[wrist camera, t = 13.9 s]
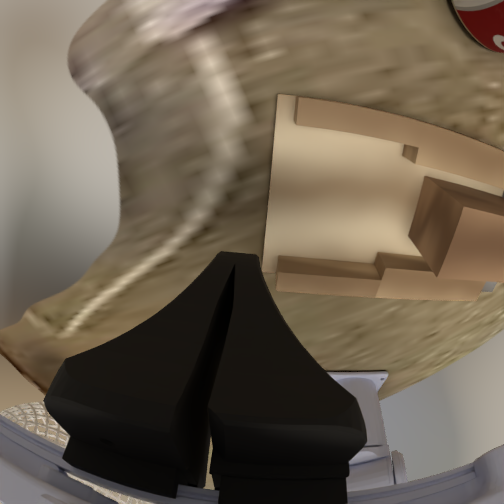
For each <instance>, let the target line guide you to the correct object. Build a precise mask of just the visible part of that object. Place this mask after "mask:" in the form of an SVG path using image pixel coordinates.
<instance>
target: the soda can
mask: <svg viewBox="0 0 504 504" xmlns="http://www.w3.org/2000/svg"><path fill="white" fill-rule="evenodd" d="M451 1H452V4H453V7H454V9H455V11H456V13H457V15H458V17H459V19H460V21H461V22H462V24H463V25H464V27H465V28H466V29H467V31H468V32H469V33H470V34H471V35H472V36H473V37H474V38H475V39H476V40H477V41H478V42H479V43H480V44H481V45H483V46H484V47H486V48H488V49H490V50H492V51H495V52H500V53H504V0H451Z"/></svg>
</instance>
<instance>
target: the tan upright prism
mask: <svg viewBox="0 0 504 504" xmlns="http://www.w3.org/2000/svg"><path fill="white" fill-rule="evenodd" d="M408 237H409V238H410V240H411V241H412V242H413V244H414V245H415V247H416V248H417V249H418V251H419V252H420V254H421V255H422V257H423V258H424V259H425V261H426V262H427V264H428V265H429V267H430V268H431V270H432V271H433V273H434V274H435V276H436V277H437V278H444V279H458V280H473V281H488V282H503V283H504V198H503V197H501V196H498V195H495V194H491V193H488V192H485V191H481V190H478V189H474V188H471V187H467V186H464V185H460V184H456V183H452V182H449V181H445V180H441V179H436V178H432V177H428V176H424V181H423V185H422V188H421V192H420V196H419V200H418V203H417V207H416V211H415V214H414V217H413V221H412V224H411V227H410V231H409V234H408Z"/></svg>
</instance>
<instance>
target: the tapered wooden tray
mask: <svg viewBox="0 0 504 504" xmlns="http://www.w3.org/2000/svg"><path fill="white" fill-rule="evenodd" d="M424 176H428V177H432V178H436V179H441V180H445V181H449V182H452V183H456V184H460V185H464V186H467V187H471V188H474V189H478V190H481V191H485V192H488V193H491V194H495V195H498V196H501V197H503V198H504V151H503V150H500V149H498V148H496V147H493V146H491V145H489V144H486V143H484V142H481V141H479V140H476V139H474V138H471V137H468V136H466V135H463V134H460V133H457V132H454V131H452V130H449V129H446V128H443V127H440V126H436V125H433V124H430V123H427V122H423V121H420V120H416V119H413V118H409V117H406V116H402V115H398V114H394V113H390V112H386V111H382V110H377V109H373V108H368V107H363V106H358V105H353V104H348V103H342V102H337V101H331V100H324V99H317V98H310V97H303V96H294V95H285V94H278V98H277V110H276V122H275V133H274V145H273V156H272V167H271V178H270V189H269V200H268V211H267V221H266V232H265V242H264V252H263V262H262V272H269V273H276V291H284V292H297V293H310V294H324V295H339V296H356V297H373V298H394V299H418V300H450V301H476V300H477V298H478V296H479V295H480V293H481V291H482V292H492V291H493V289H494V287H495V285H496V283H497V282H488V281H473V280H458V279H444V278H437V277H436V276H435V274H434V273H433V271H432V270H431V268H430V267H429V265H428V264H427V262H426V261H425V259H424V258H423V257H422V255H421V254H420V252H419V251H418V249H417V248H416V247H415V245H414V244H413V242H412V241H411V240H410V238H409V237H408V234H409V231H410V227H411V224H412V221H413V217H414V214H415V211H416V207H417V203H418V200H419V196H420V192H421V188H422V185H423V181H424Z"/></svg>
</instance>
